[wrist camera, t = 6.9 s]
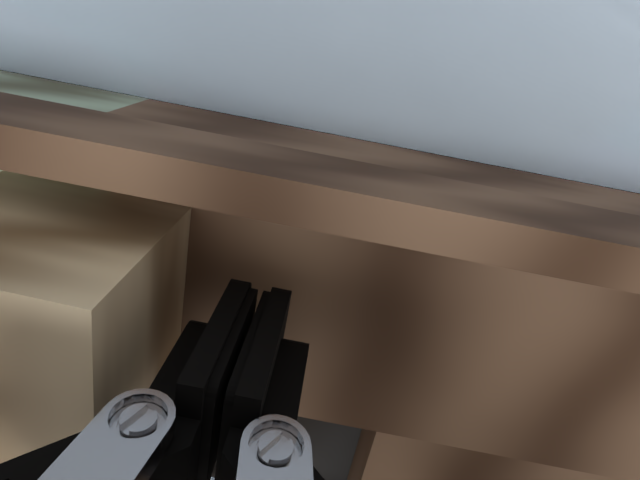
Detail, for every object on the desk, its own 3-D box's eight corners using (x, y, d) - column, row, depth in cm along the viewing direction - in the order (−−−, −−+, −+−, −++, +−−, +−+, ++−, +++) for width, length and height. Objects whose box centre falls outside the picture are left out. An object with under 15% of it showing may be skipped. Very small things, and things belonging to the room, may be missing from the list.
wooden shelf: (734, 212, 14) (920, 302, 9) (535, 533, 20) (584, 676, 16) (-109, 49, 14) (-343, 57, 9) (-25, 423, 20) (-135, 534, 16)
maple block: (191, 207, 12) (91, 310, 8) (179, 349, 14) (95, 495, 10) (11, 167, 12) (-196, 247, 8) (26, 316, 14) (-129, 447, 10)
